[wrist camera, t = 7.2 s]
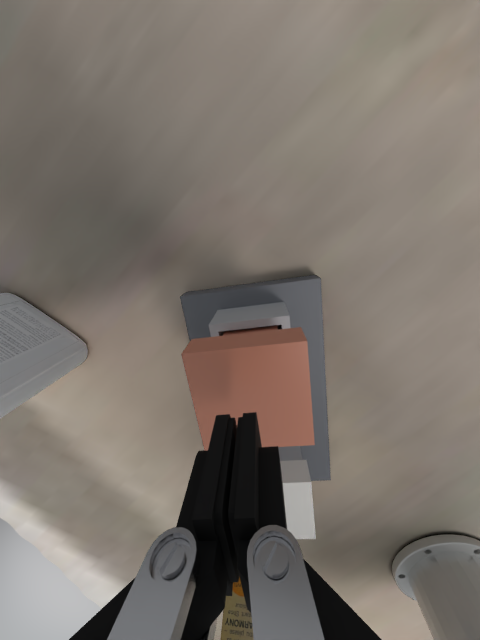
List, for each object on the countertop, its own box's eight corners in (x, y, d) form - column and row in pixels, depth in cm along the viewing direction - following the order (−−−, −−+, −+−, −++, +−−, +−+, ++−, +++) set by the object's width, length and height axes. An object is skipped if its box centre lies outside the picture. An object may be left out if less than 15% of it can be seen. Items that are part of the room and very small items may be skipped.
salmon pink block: (292, 308, 18) (307, 340, 12) (298, 385, 20) (314, 445, 14) (205, 318, 18) (181, 353, 13) (220, 391, 20) (204, 450, 15)
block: (315, 274, 22) (334, 287, 16) (325, 464, 28) (342, 520, 23) (186, 292, 23) (162, 309, 18) (224, 468, 30) (216, 522, 24)
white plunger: (299, 425, 24) (311, 482, 19) (303, 474, 26) (315, 539, 21) (235, 429, 25) (228, 484, 19) (244, 476, 27) (240, 539, 21)
